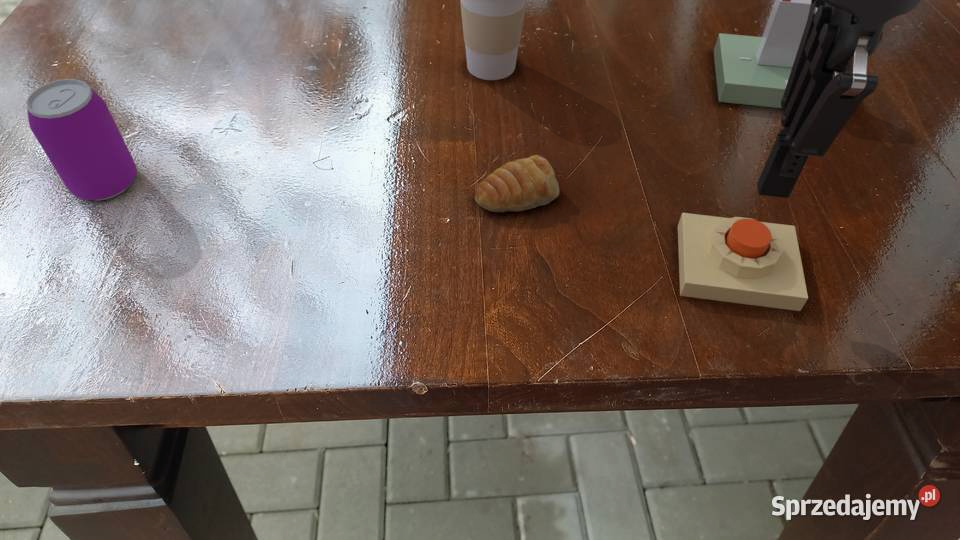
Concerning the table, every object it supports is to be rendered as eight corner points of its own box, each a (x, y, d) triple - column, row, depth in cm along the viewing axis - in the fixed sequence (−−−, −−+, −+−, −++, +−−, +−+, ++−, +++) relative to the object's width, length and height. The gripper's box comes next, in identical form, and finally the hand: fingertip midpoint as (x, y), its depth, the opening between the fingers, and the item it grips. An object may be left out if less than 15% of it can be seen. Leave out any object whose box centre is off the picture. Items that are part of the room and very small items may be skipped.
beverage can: (116, 210, 78) (68, 125, 69) (55, 198, 79) (1, 112, 70) (152, 166, 83) (112, 80, 73) (95, 155, 84) (49, 70, 74)
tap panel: (828, 62, 98) (837, 42, 96) (843, 114, 90) (853, 94, 88) (713, 51, 100) (719, 31, 97) (718, 102, 92) (725, 81, 89)
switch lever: (808, 60, 93) (836, -5, 86) (811, 69, 92) (839, 4, 85) (755, 55, 94) (778, -10, 87) (756, 64, 92) (780, -1, 85)
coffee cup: (534, 58, 98) (543, -47, 86) (506, 92, 93) (511, -15, 81) (477, 41, 100) (478, -63, 89) (447, 73, 95) (444, -33, 84)
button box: (787, 239, 76) (801, 213, 73) (800, 311, 70) (815, 286, 67) (677, 226, 77) (686, 200, 74) (680, 296, 71) (689, 271, 68)
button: (764, 232, 72) (769, 220, 71) (768, 261, 69) (774, 249, 68) (724, 227, 72) (729, 216, 71) (727, 256, 70) (732, 244, 68)
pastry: (491, 227, 77) (492, 203, 74) (464, 190, 81) (463, 165, 78) (563, 200, 80) (566, 176, 77) (533, 166, 83) (535, 141, 81)
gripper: (815, -106, 51) (726, 142, 70) (846, -18, 43) (737, 236, 61) (921, -98, 51) (803, 150, 69) (973, -8, 42) (824, 246, 61)
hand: (772, 190), depth 65 cm, fingers closed
